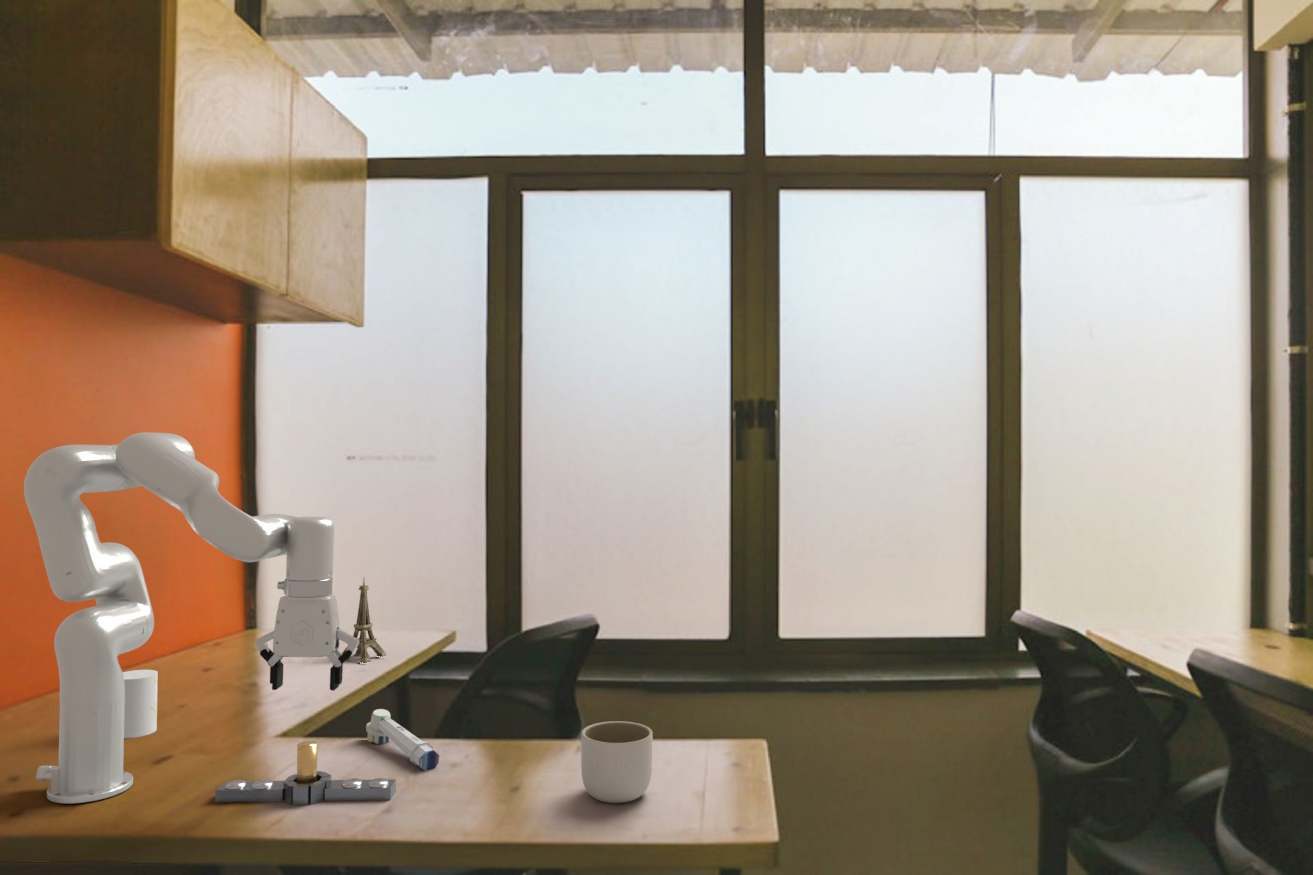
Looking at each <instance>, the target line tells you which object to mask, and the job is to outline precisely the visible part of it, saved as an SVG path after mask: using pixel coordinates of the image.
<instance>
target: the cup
mask: <svg viewBox="0 0 1313 875" xmlns="http://www.w3.org/2000/svg"><path fill="white" fill-rule="evenodd" d="M122 673H123V677H124V684H125V707H124V739H133V738H140V737H145V736H148V735H151V734H153V733H155V732H157V726H158V685H159V684H158V681H159V680H158V678H159V676H158V674H159V673H158V671H157V670H153V669H134V670H128V671H124V672H123V671H122Z"/></svg>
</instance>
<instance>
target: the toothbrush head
mask: <svg viewBox="0 0 1313 875" xmlns="http://www.w3.org/2000/svg"><path fill="white" fill-rule="evenodd" d="M370 718H371V719H370V722H368V723H366V726H365V729H366V730H365V731H366V732H367V736H366V737H367V738H366V739H367V740H366V741H368V742H369V743H370V744H371V743H373V744H374V743H375V744H376V745H377V744H378V745H379V744H381V745H382V744H387V743H389V742H392V743H393V744H395V745H396V746H397V747H398V748H399V749H400V750H401V751H402V752H403V753H404V754H405V755H406V756H408V757H409V758H410V759H409V762H410V763H412V764H413V765H414V766H418V767H419V768H421V769H422V771H429V770H432V769H433V770H434V769H435V768H436V767H437V765H439V764H440V763H439V762H440V754H439V753H438V752H436V751H435V750H434V748H433V747H434V746H432V745H431V744H430V743H429V742H428V741H423V740H421V739H420V738H418V737H417V736H416V735H414V734H413V733H411V731H409V730H408V729H406V728H405V727H403V726H402V725H400V724H399V723H397V722H396V721H395V720H393V719H392V718H391V713H390V711H388V709H384V708H377V709H375V710H373V711H372V713H371V717H370Z"/></svg>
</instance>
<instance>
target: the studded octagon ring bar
mask: <svg viewBox="0 0 1313 875" xmlns="http://www.w3.org/2000/svg"><path fill="white" fill-rule="evenodd" d="M396 791H397V779H395V778H394V779H393V778H391V779H390V778H389V779H388V778H385V777H384V778H383V777H378V778H373V779H362V778H348V779H347V778H346V779H332V774H329V773H328V772H326V771H322V770H317V781H316V782H313V783H309V784H297V773H294V774H291V775H290V776H288V777H286V778H285V780H272V779H268V778H267V779H259V780H244V779H234V780H230V781H224V782H223V783H222V784H221V785H219V786H218V788H216V790H215V796H214V797H215V799H214V800H215V803H252V802H255V803H257V802H258V803H260V802H261V803H263V802H264V803H265V802H266V803H267V802H269V803H271V802H283V801H284V802H285V803H287V804H289V805H292V806H299V805H300V806H307V805H309V804H310V805H313V804H316V803H320V802H323V801H324V802H329V801H332V802H333V801H334V802H335V801H341V802H343V801H389V800H390V801H391V800H392V798H393V797H394V795H395V793H396Z"/></svg>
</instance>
